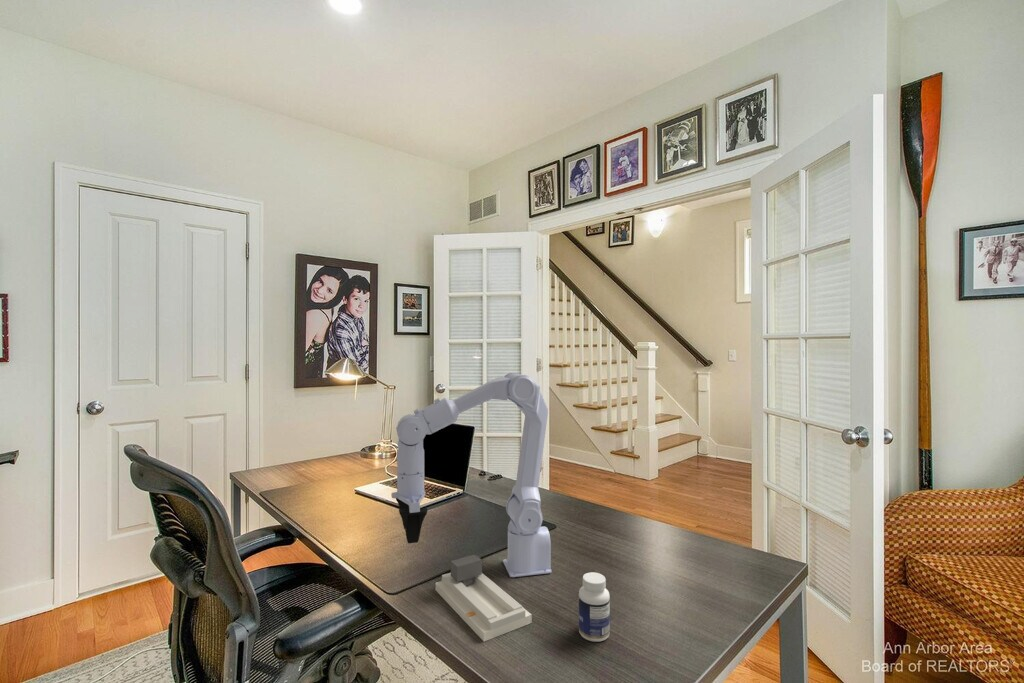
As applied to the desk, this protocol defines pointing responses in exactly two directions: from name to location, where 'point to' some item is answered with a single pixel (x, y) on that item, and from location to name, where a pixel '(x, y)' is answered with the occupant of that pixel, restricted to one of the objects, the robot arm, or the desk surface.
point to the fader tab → (466, 569)
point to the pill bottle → (594, 608)
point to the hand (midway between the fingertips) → (410, 535)
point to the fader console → (483, 606)
